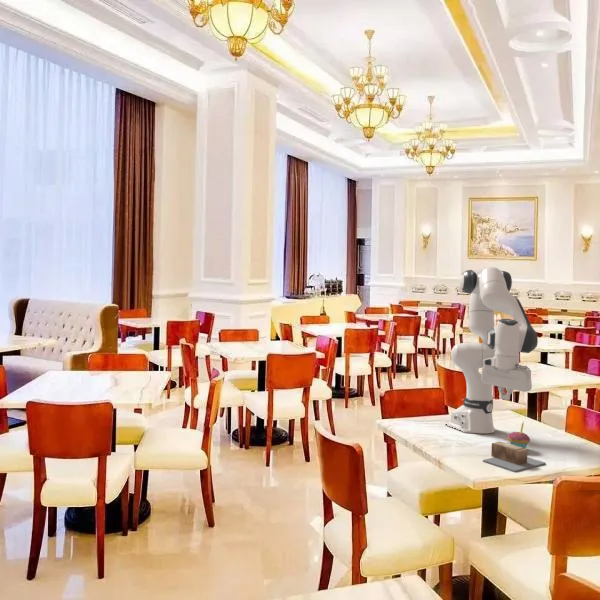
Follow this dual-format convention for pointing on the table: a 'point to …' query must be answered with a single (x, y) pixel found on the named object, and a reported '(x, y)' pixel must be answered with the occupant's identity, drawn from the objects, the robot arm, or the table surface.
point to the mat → (512, 466)
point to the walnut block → (509, 453)
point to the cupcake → (519, 438)
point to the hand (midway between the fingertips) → (505, 399)
